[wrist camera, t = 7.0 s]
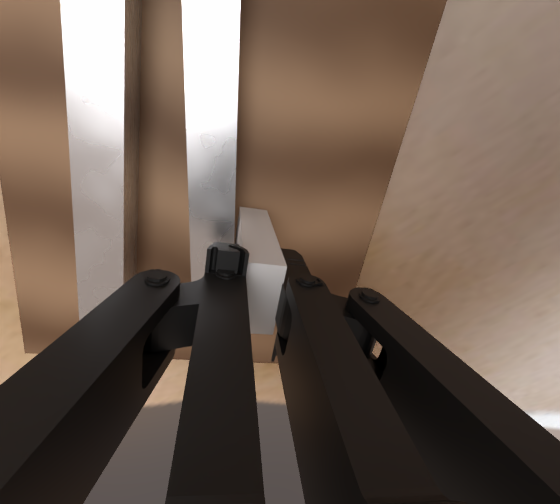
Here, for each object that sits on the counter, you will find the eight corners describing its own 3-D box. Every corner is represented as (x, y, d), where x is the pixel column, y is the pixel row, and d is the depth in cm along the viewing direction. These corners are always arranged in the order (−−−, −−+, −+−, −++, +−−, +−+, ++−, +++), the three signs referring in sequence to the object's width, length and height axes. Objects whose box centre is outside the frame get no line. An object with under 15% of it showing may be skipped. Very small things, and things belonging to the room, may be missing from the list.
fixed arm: (76, -369, 9) (29, -518, 7) (149, -335, 10) (125, -467, 8) (97, 300, 18) (79, 327, 16) (135, 303, 19) (123, 330, 16)
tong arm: (177, -149, 12) (163, -217, 9) (250, -133, 12) (255, -194, 10) (192, 307, 19) (186, 336, 17) (236, 306, 20) (237, 335, 17)
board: (-61, -442, 9) (-99, -514, 8) (489, -182, 13) (512, -208, 12) (36, 339, 20) (25, 353, 19) (326, 353, 24) (330, 365, 23)
